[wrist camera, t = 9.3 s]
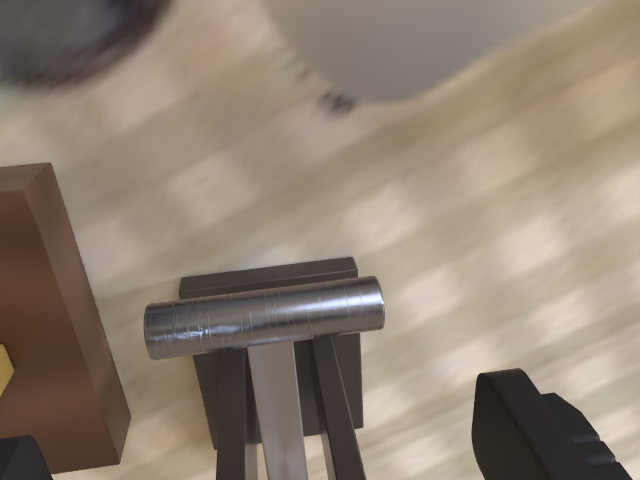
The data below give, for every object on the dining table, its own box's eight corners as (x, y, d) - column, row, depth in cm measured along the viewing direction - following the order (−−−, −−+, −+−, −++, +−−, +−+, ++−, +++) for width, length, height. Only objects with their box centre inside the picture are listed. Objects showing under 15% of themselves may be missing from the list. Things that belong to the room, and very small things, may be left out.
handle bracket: (181, 277, 25) (131, 544, 13) (353, 256, 25) (443, 493, 14) (215, 433, 29) (199, 728, 18) (359, 411, 30) (431, 683, 19)
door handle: (151, 281, 13) (135, 341, 11) (367, 255, 14) (391, 307, 12) (223, 569, 19) (221, 644, 17) (375, 543, 20) (391, 614, 17)
